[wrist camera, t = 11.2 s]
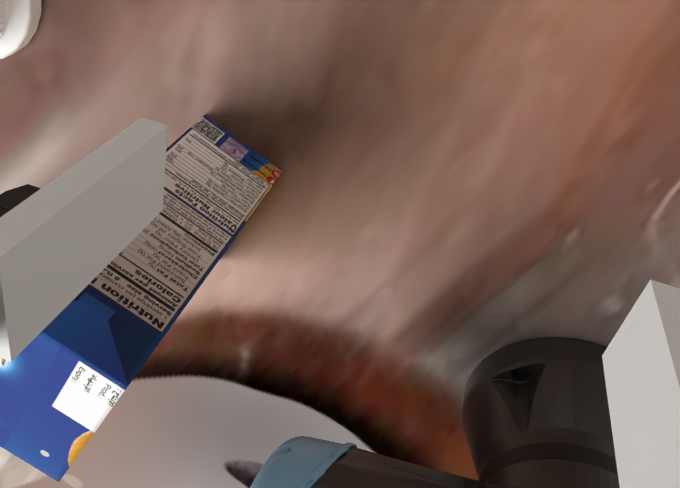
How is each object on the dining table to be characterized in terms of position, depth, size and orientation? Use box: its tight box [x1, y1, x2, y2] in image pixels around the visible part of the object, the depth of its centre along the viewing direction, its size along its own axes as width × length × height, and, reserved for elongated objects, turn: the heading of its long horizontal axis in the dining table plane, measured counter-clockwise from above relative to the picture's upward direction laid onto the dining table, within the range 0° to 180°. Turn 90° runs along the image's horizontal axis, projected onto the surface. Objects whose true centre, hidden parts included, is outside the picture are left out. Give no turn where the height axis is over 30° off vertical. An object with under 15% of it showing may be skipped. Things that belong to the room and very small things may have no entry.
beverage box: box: [0, 115, 282, 482], centre depth 40 cm, size 7×11×22 cm, turn 146°
